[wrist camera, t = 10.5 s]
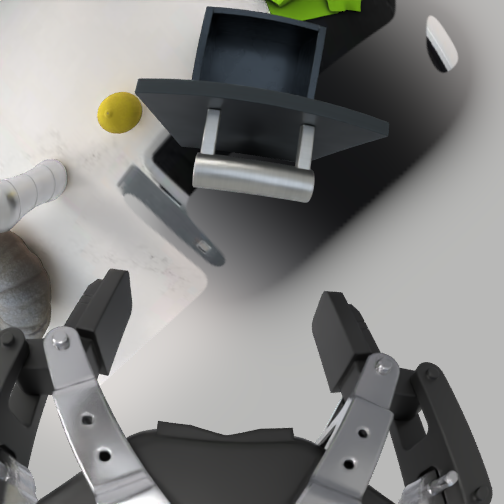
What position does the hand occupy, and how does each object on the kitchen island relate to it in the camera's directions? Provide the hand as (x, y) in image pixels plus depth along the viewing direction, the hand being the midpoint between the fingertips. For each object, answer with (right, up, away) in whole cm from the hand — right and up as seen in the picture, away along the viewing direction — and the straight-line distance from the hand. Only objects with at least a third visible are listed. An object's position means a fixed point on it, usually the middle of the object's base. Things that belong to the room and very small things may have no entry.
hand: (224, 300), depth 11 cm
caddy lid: (+1, +11, +8) cm, 14 cm away
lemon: (-16, +21, +22) cm, 35 cm away
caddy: (+1, +24, +22) cm, 32 cm away
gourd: (-47, -2, +32) cm, 57 cm away
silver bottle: (-30, +14, +25) cm, 42 cm away
